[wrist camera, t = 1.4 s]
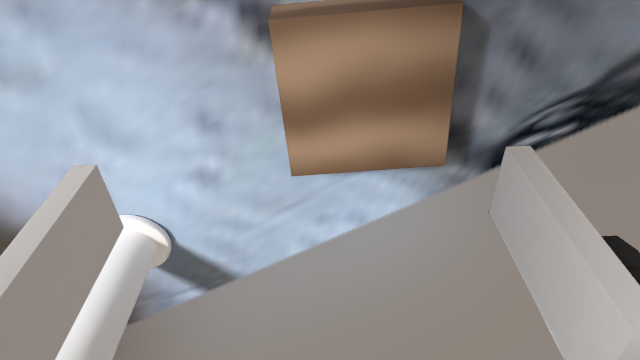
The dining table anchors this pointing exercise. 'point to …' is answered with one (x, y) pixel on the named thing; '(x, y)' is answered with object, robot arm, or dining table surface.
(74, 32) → the dining table surface
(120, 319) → the candle
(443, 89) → the walnut base
